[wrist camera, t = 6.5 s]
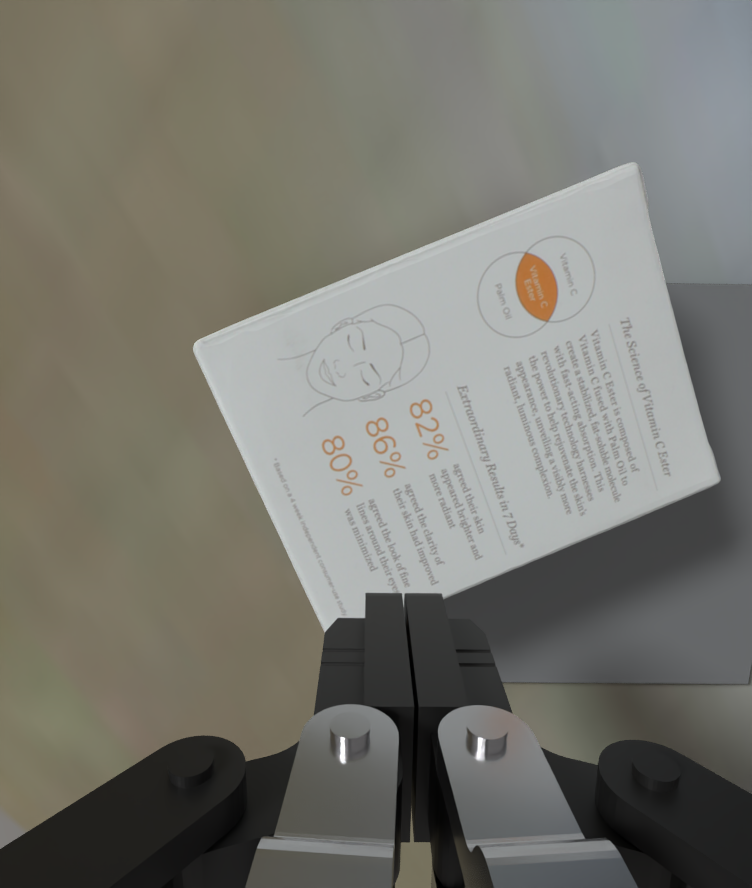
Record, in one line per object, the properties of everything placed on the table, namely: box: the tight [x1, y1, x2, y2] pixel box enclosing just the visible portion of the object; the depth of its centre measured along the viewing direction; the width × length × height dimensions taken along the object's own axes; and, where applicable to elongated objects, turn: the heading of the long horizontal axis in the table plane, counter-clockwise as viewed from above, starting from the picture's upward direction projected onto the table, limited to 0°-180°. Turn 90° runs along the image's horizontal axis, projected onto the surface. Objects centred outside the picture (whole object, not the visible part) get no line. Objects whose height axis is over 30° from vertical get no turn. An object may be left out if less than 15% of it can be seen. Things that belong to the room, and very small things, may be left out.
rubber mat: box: [443, 283, 752, 684], centre depth 21 cm, size 14×12×1 cm
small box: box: [193, 162, 721, 632], centre depth 17 cm, size 8×6×10 cm
